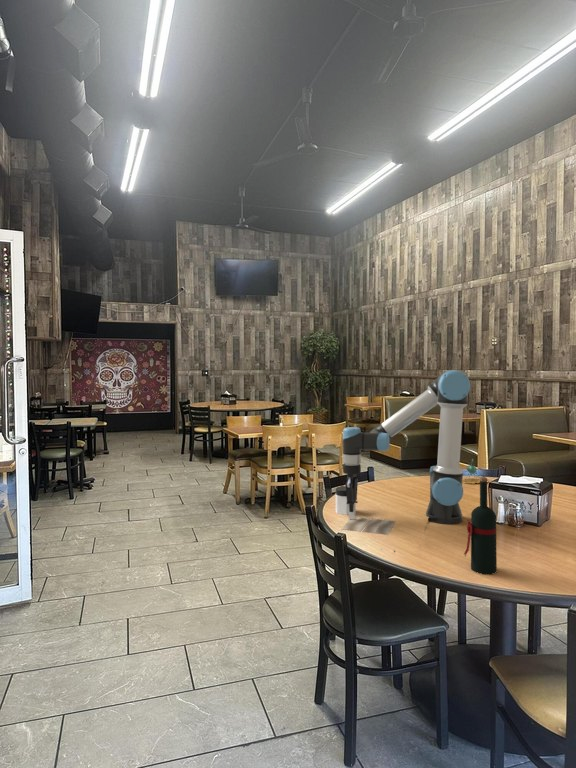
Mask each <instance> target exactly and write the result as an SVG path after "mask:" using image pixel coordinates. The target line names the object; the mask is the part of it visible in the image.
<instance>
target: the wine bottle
mask: <svg viewBox="0 0 576 768" xmlns="http://www.w3.org/2000/svg"><path fill="white" fill-rule="evenodd" d="M479 477H480V478H479V479H480V480H481V481H480V483H479V506H476V507H474V509H473V510H472V511H471V515H470V516H471V517H470V519H471V520H470V521H469V520H467V526H466V531H467V534H468V535H467V542H466V548H465V551H464V552H463V555H464V557H466V556H467V553H468V552H469V550H470V569H471V570H472V571H473V572H474V573H477V572H478V573H477V574H480V573H482V574H481V575H486V574H489V575H493V574H492V573H495V572H496V571H497V570H498V569H497V568H498V567H497V566H498V565H497V564H498V563H497V561H498V560H497V515H496V513H495V511H494V510H493V509H492V508H491V507H489V506H488V482H487V480H488V477H482V476H479ZM497 572H498V571H497ZM497 572H496V573H497ZM496 573H495V574H496Z"/></svg>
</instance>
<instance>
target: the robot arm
mask: <svg viewBox="0 0 576 768" xmlns="http://www.w3.org/2000/svg"><path fill="white" fill-rule="evenodd" d="M470 390H471V382H470V379H469V377H468V376H467V375H466V374H465V373H464V372H462V371H460V370H457V369H451V370H445V371H444V372H442V373H441V374H440V375H439V376H438V377H436V379H435V380H434V381H432V382H431V384H429V385H428V386H427V389H425V391H423V392H422V393H421V394H419V395H418V396H416V398H414V399H412V400H411V401H410V402H408V403H407V404H406V405H405V406H403V407H402V408H401V409H398V411H397V412H395V413H394V414H393V415H391V416H390V417H388V418H387V419H385V420H384V421H383V422H382V423H381V424H379V425H377V427H375V428H372V429H371V430H370V431H369V432H362V431H361V428H360V427H356V426H348V427H345V428H343V430H342V455H341V458H342V463H343V464H342V472H343V473H344V474H345V475H347V476H346V479H345V480H346V481H345V483H344V485H345V486H346V495H347V504H349V514H348V520H350V519H354V520H355V519H356V517H357V515H356V512H357V511H356V510H357V508H356V504H358V483H359V477H357V475H359V474H361V472H362V465H361V463H362V462H361V461H362V459H361V458H362V457H361V456H362V453H361V451H373V452H375V451H377V452H387V451H389V450H390V439H391V438H392V437H394V436H395V435H397V434H398V433H400V432H402V430H404V429H406V428H407V426H410V424H413V423H414V422H415V421H416V420H418V419H419V418H421V417H422V416H423V415H425V414H426V413H427V412H428V411H430V410H431V409H433V408H435V407H436V406H437V405H438V406H439V407H440V411H439V412H440V415H439V416H440V417H439V426H438V427H439V431H438V445H437V461H436V462H437V464H436V465H432V466H430V468H429V501H428V502H429V503H428V506H427V509H426V511H425V515H426V517H427V518H428V521H430V522H432V523H437V524H443V525H444V524H446V525H447V524H448V525H454V524H459V523H462V522H463V513H462V509H461V507H460V503H459V502H460V501H461V500H462V498H463V497H464V487H463V483H462V480H464V479H463V477H464V472H463V470H462V469H461V468H460V461H461V447H462V446H461V445H462V433H463V432H462V431H463V417H464V416H463V414H464V408H465V407H467V405H468V398H469V392H470Z"/></svg>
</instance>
